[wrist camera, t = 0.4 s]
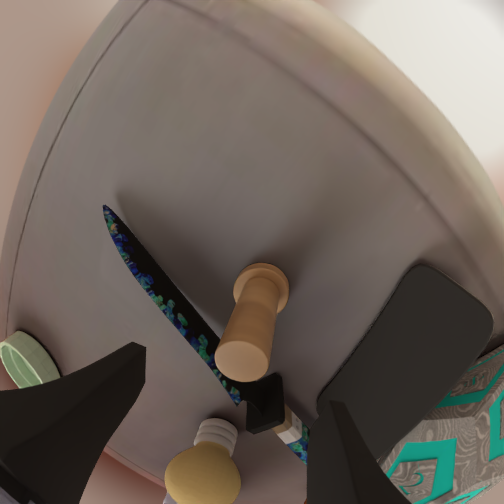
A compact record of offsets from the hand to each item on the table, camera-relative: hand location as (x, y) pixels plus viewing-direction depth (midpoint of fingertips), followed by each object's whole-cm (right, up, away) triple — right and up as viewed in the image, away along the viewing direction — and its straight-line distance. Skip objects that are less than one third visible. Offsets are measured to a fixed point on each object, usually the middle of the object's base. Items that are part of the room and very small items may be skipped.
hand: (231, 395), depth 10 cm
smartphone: (+8, -10, +9) cm, 16 cm away
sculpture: (+29, -1, +6) cm, 30 cm away
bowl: (-27, -9, +17) cm, 33 cm away
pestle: (+1, +3, +10) cm, 10 cm away
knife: (0, -3, +12) cm, 12 cm away
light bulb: (-2, -12, +15) cm, 19 cm away
